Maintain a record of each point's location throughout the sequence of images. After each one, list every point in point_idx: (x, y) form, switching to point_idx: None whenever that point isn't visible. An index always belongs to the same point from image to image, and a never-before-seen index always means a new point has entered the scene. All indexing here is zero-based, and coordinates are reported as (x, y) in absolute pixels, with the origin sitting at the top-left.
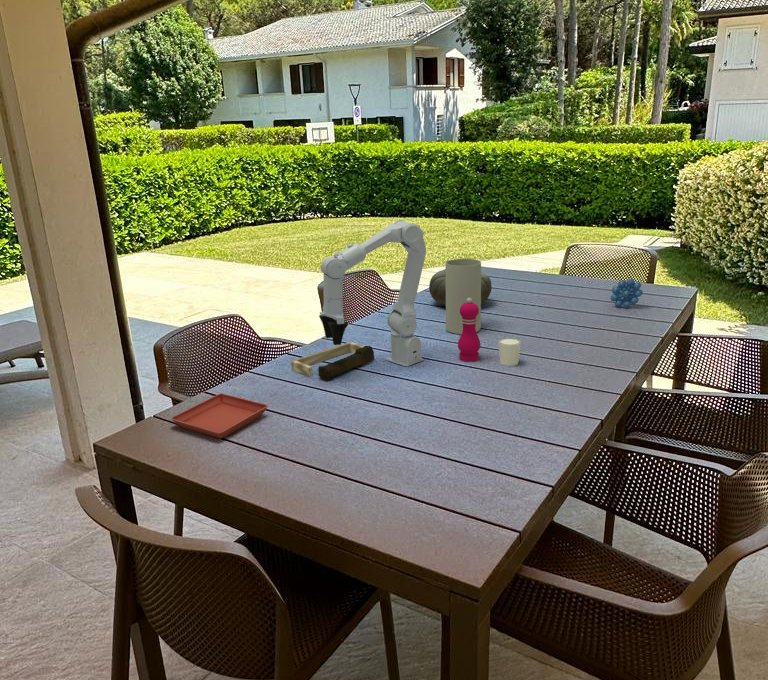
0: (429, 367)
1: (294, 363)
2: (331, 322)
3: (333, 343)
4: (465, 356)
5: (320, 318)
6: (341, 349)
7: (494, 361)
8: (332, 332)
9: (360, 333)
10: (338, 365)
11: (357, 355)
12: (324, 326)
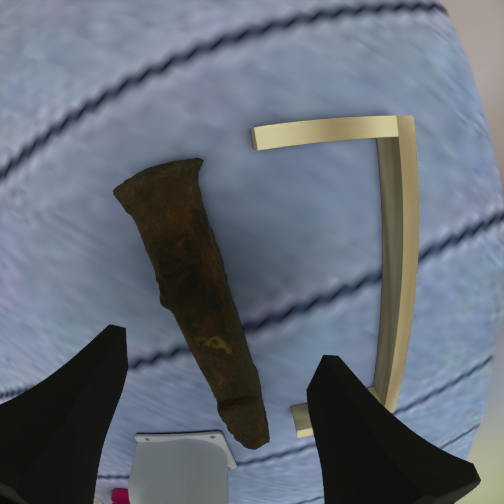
0: (111, 452)
1: (384, 116)
2: (11, 497)
3: (122, 331)
4: (116, 496)
5: (449, 467)
6: (384, 371)
7: (101, 497)
8: (34, 392)
9: (441, 429)
10: (155, 270)
11: (215, 389)
12: (366, 427)
